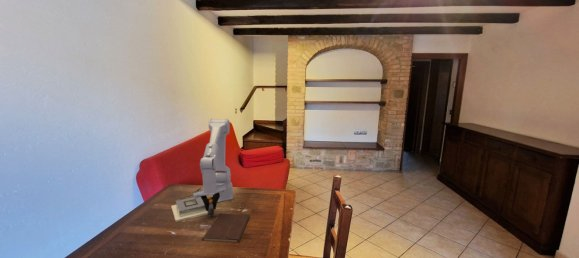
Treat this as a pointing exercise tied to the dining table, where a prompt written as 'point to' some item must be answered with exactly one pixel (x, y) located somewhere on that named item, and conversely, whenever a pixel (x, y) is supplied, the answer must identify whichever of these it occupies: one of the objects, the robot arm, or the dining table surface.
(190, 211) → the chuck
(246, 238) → the dining table surface
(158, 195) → the dining table surface
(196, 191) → the pliers
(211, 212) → the orange topped can
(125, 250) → the dining table surface
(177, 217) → the stand base
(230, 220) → the notebook
